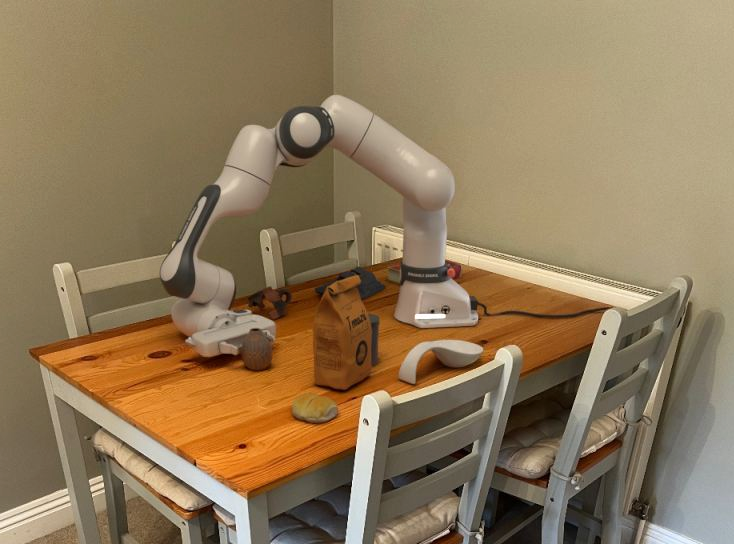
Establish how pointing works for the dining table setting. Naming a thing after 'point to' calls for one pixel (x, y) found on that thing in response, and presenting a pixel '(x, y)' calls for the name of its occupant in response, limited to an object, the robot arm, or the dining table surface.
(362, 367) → the coffee package
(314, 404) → the bread roll
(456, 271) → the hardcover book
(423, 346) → the spoon rest
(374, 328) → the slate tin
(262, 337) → the vase
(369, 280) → the folded navy cloth
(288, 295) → the brown grey irregular piece
